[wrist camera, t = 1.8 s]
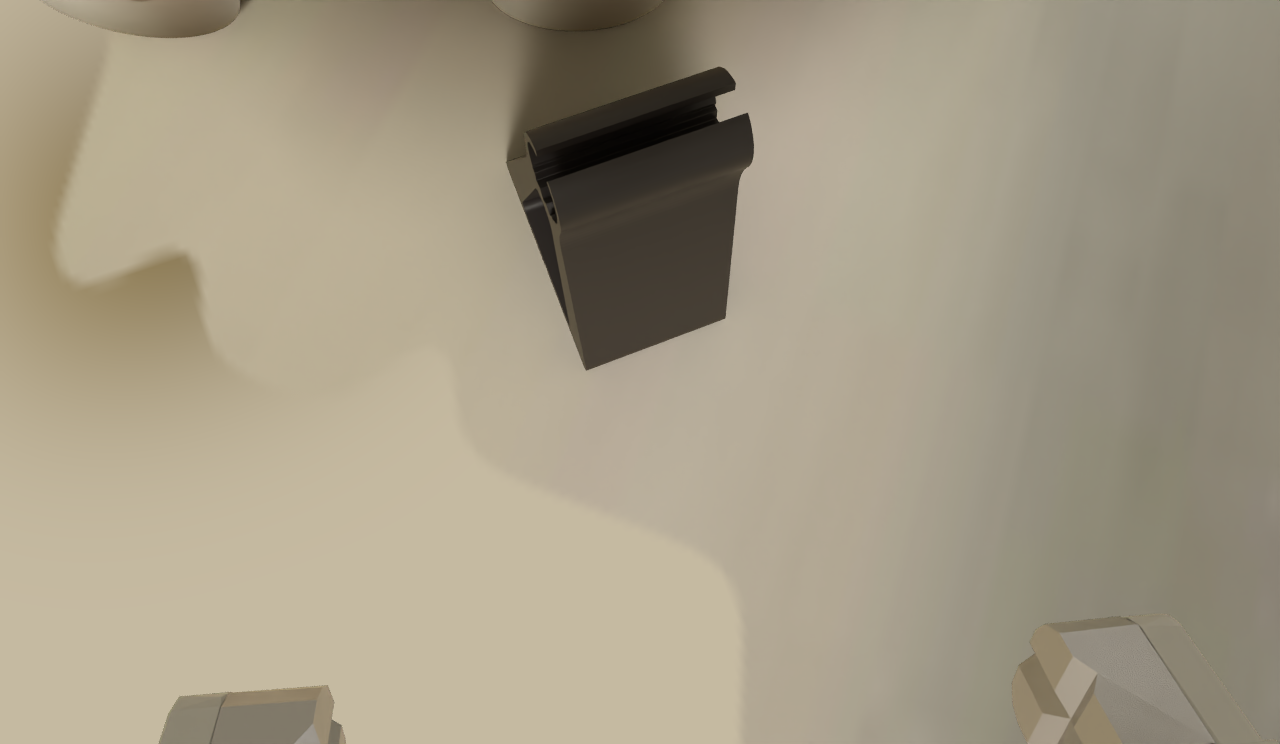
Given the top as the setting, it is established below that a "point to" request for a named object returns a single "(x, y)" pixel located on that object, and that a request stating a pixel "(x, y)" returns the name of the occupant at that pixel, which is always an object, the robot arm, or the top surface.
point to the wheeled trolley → (208, 3)
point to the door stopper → (637, 213)
